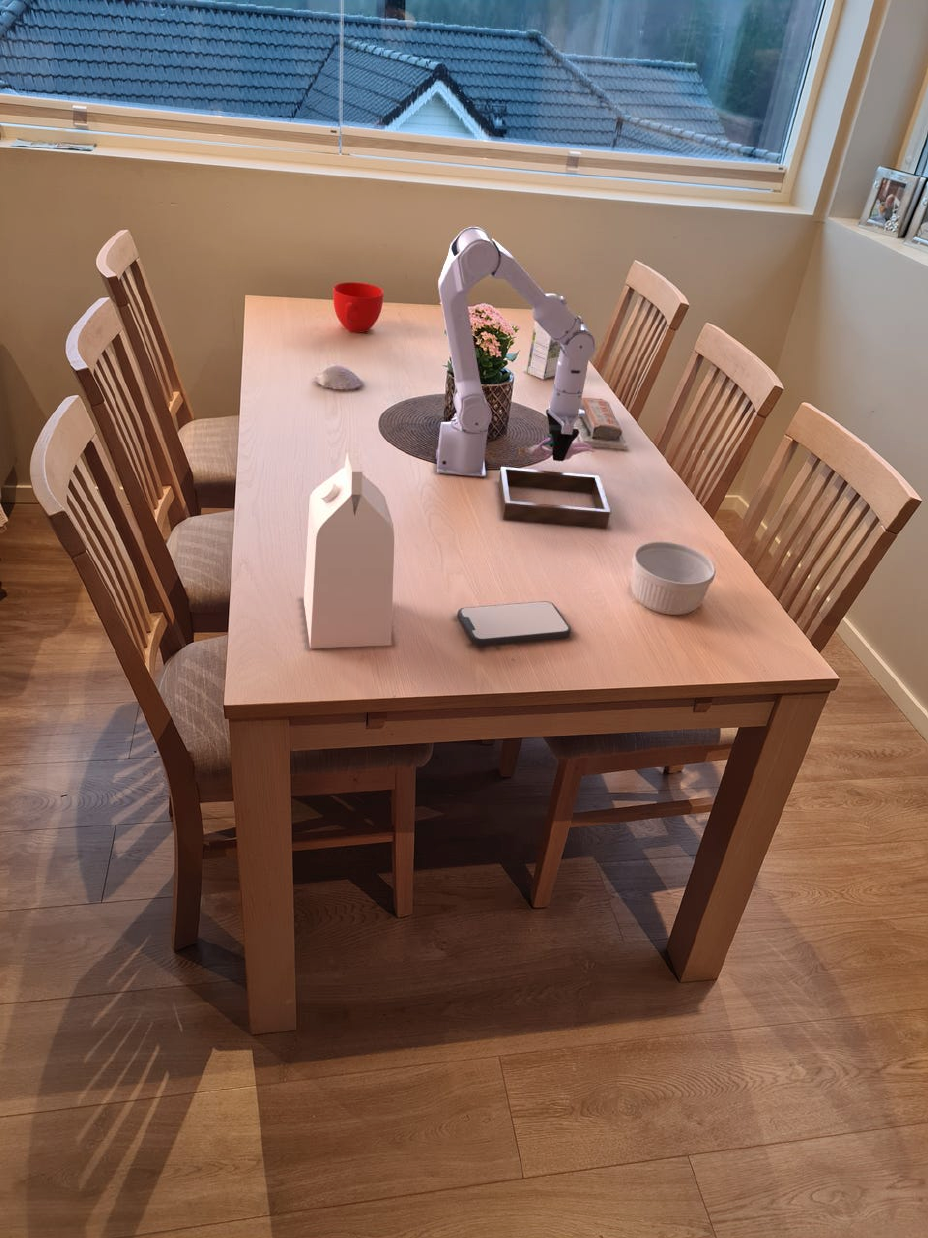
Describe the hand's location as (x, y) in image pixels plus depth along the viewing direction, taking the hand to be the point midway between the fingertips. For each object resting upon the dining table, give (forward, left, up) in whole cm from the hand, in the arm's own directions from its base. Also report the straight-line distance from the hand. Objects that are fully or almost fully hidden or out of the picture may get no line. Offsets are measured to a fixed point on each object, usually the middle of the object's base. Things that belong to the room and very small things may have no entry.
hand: (556, 453), depth 187 cm
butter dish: (+12, +22, -4) cm, 25 cm away
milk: (-37, -58, -4) cm, 69 cm away
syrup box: (+3, +55, -4) cm, 55 cm away
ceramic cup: (-45, +74, -4) cm, 87 cm away
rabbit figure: (0, 0, -2) cm, 2 cm away
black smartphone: (-12, -56, -4) cm, 57 cm away
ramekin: (+14, -44, -4) cm, 46 cm away
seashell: (-46, +35, -2) cm, 58 cm away
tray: (-2, -15, -4) cm, 16 cm away
